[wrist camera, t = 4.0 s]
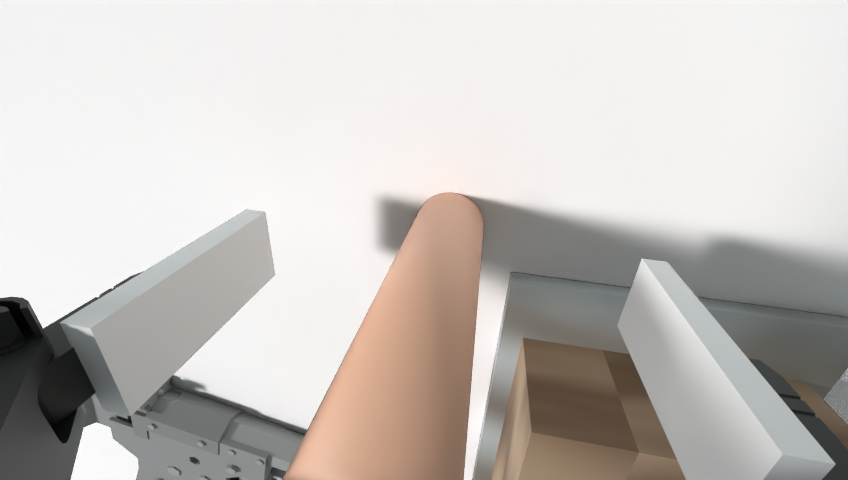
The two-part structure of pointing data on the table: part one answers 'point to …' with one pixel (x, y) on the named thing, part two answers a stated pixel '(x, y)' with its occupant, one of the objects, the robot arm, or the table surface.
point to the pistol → (197, 438)
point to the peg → (407, 362)
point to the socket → (620, 381)
